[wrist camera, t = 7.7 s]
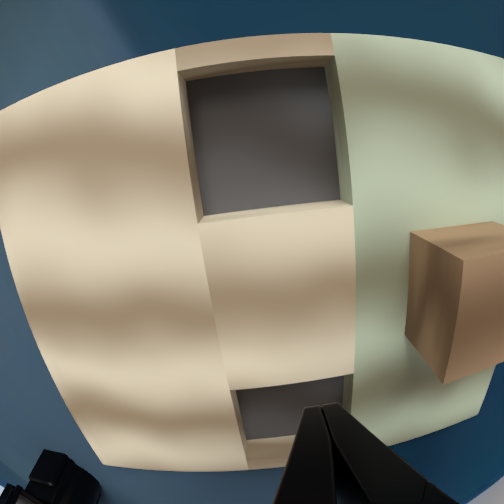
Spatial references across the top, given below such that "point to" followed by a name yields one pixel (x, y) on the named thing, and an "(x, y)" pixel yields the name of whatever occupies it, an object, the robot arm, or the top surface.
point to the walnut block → (457, 298)
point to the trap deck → (246, 238)
